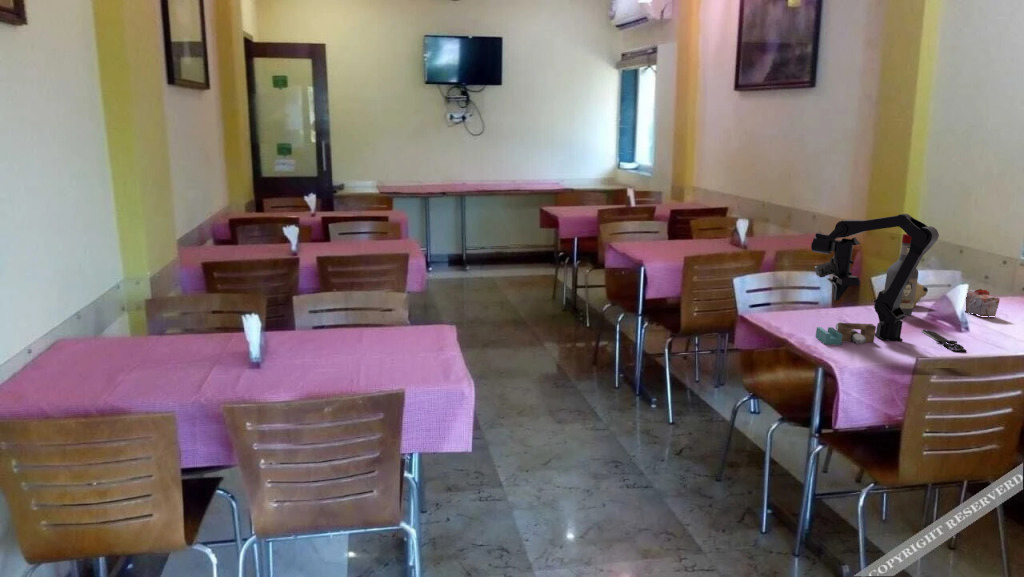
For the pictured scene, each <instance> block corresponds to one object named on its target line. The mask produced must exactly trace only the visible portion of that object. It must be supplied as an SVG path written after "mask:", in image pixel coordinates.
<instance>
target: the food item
mask: <svg viewBox="0 0 1024 577" xmlns="http://www.w3.org/2000/svg"><path fill="white" fill-rule="evenodd" d="M967 290H968V293H967V297H966V311H967V312H966V313H968V312H969V313H973V314H978V315H980V316H995V317H996V314H997V311H998V308H999V304H1000V300H1001V299H1000V298H999V297H996V296H993V295H990V291H988V290H987V289H986V290H985V289H981V288H980V289H967Z"/></svg>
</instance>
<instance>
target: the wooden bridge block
mask: <svg viewBox="0 0 1024 577" xmlns="http://www.w3.org/2000/svg"><path fill="white" fill-rule="evenodd" d="M838 323H839V322H838ZM852 329H853V330H860V332H859V333H860V334H861V335H863V336H864V337H865V338H866V341H865V343H874V341H875V336H876V335H875V333H876V331H877V325H876V326H875V325H874V324H873V323H854V322H853V323H852V322H842V323H839V324H838V330H837V331H838V332H840V333H841V334H843V335H842V342H851V341H852V340H851V333H852Z"/></svg>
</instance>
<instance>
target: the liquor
mask: <svg viewBox="0 0 1024 577" xmlns="http://www.w3.org/2000/svg"><path fill="white" fill-rule="evenodd" d="M911 239H912V237H910V236H909V235H908V234H907V233H904V234H902V237H901V248H900V252H899V253H900V254H899V257H898V260H896V261H895V262H893V264H891V265H890V266H889V267H888V268H887V270H886V276H885V283H884V289H883V290H886V289H887V290H888V288H889V287H890V285H891V283H892V282H893V280H894V278H895V276H896V274H897V272H898V271H899V269H900V267H901V265H902V263H903V261H904V260H905V258H906V256H907V254H908V252H909V248H910V242H911ZM918 279H919V270H918V269H917V268H916V269H915V271H914V273H913V275H912V276H911V278H910V280H909V282H908V283H907V285H906V287H905V289H904V291H903V293H902V300H901V303H900V308H901V309H902V310H903V312H904V313H905V314H906V315H905V317H910V316H911V315H912V313H913V312H914V311H913V310H914V306H913V305H914V299H915V293H916V287H917V282H918Z"/></svg>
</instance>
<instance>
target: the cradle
mask: <svg viewBox="0 0 1024 577" xmlns="http://www.w3.org/2000/svg"><path fill="white" fill-rule="evenodd" d="M842 335H843V334H841V333H840V332H838V330H836V328H834V327H831V326H830V327H827V330H826V329H824V328H823V327H821V326H817V327H816V330H815V338H816V339H817V340H819V341H820V342H821V343H822V344H824V345H831V344H834V346H835V345H836V346H837V345H838V346H841V345H842V342H843V341H842Z"/></svg>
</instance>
